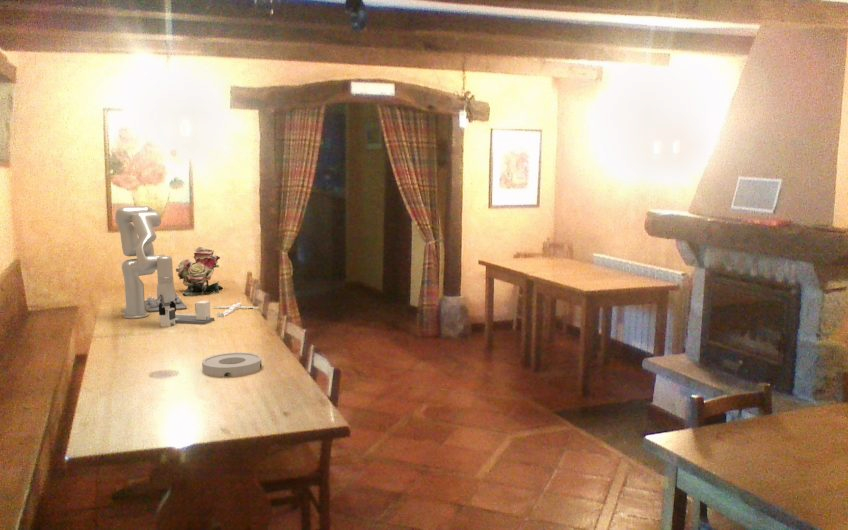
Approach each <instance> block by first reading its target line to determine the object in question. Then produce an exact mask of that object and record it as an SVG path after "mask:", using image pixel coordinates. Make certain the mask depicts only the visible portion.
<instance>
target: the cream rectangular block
mask: <svg viewBox="0 0 848 530" xmlns="http://www.w3.org/2000/svg"><path fill="white" fill-rule="evenodd" d="M175 314H176V312H175V309H174V308H165V315H159V321H160V327H161V328H162V327H164V328H171V327H172V326H175V325H176V323H175Z"/></svg>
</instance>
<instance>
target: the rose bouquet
mask: <svg viewBox="0 0 848 530" xmlns="http://www.w3.org/2000/svg"><path fill="white" fill-rule="evenodd" d="M194 251H195V252H193V255H194V256H193V259H194V260H195V262H192V261H190V259H189V258H187V259H183V260H182V261H180V262H179V264H178V266H177V267H176V268H175V271H176V273H177V277H179V279H178V280H182V284H183V286H184V287H185V286H186V287H187V288H186V289H184V292H182V295H186V296H187V297H198V296H206V295H207V296H210V295H213V294H216V295H217V294H220V290H223V289H224V288H223V286H221V285H220V283H219V281H217V282H214V283H212V284H209V281H210V280H211V278H212V275H214V274H213V273H214V271H215V269H214V268H220V264H218V261H219V260H220V259H221V257H220V256H219V255H214V253H215V250H212V249H207V248H206V247H202V246H200V247H199V246H198V247H197V248H195V249H194ZM205 283H206V284H205Z"/></svg>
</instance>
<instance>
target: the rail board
mask: <svg viewBox="0 0 848 530" xmlns="http://www.w3.org/2000/svg"><path fill="white" fill-rule="evenodd" d="M210 303H211V301H209V300H208V301H207V300H200V301H197V302H195V304H194V306H195V307H194V309H195V314H185V313H175V324H187V325H188V324H190V325H207V324H210V323H211V322H214V321H215V317H211V304H210Z"/></svg>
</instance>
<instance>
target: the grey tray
mask: <svg viewBox="0 0 848 530" xmlns="http://www.w3.org/2000/svg"><path fill="white" fill-rule="evenodd" d="M156 300H157V298H156V299H155V298H154V296H148V297H146V299H145V311H146V312H147V313H157V312H158V313H159V308H158V305H157V302H156ZM170 304H171V303H170V302H168V303H165V306H164V307H165V308H170ZM162 305H163V304H162ZM187 308H188V307H187V305H186V304H185V303H184V302H183V299H182V298H181V297H180V296H179V295H178V294H177V300H176V311H181V310H186V309H187Z"/></svg>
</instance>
